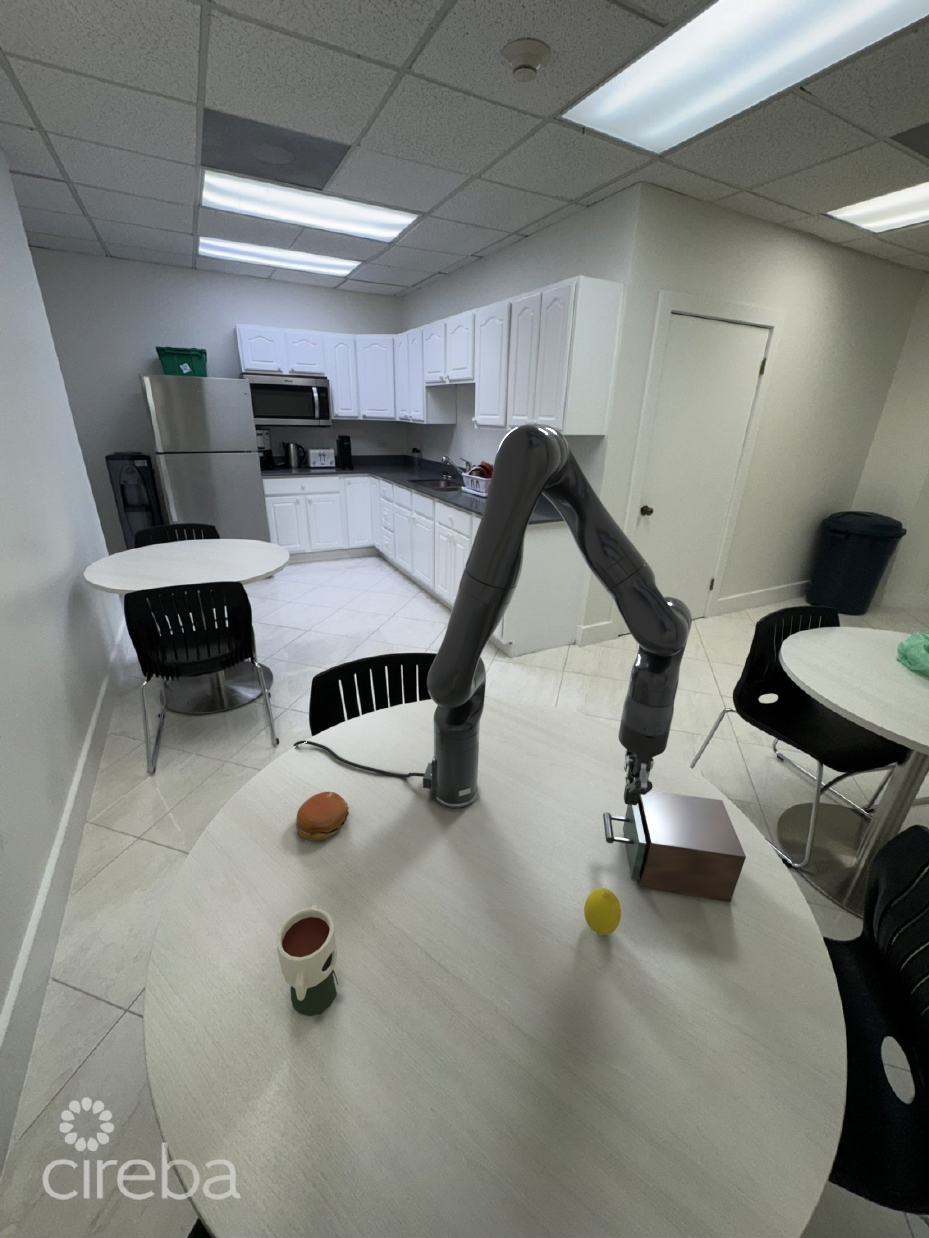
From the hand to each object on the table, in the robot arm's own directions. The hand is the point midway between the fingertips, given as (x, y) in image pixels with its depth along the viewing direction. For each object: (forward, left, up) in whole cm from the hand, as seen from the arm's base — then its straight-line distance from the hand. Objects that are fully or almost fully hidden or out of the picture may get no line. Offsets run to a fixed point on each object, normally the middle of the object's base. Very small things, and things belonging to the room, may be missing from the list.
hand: (630, 801), depth 86 cm
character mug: (-45, -32, -13) cm, 57 cm away
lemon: (-5, -15, -13) cm, 21 cm away
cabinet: (+10, 0, -13) cm, 16 cm away
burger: (-57, -3, -13) cm, 58 cm away
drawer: (+6, 0, -12) cm, 13 cm away
